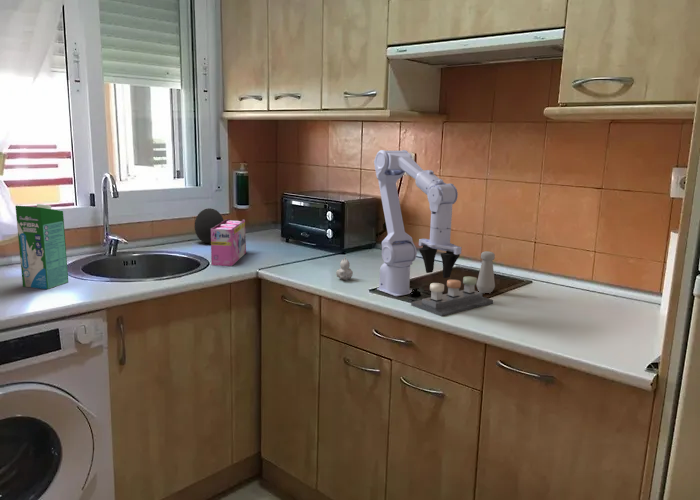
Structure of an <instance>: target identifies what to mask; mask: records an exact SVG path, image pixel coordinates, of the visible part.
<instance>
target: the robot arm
mask: <svg viewBox="0 0 700 500" xmlns="http://www.w3.org/2000/svg"><path fill="white" fill-rule="evenodd" d="M412 156H413V155H412V153H409V152H408V150H405V149H401V150H384V149H380V150H379V151H377V152H376V155H375V157H374V159H373V165H374V170H375V171H374V172H375V176H376V179H377V180H378V181H377V182H378V187H379V193H380V199H381V204H382V209H383V210H382V211H383V214H384V220H385V226H386V232H387V235H386V237H384V239H383V240H381V258H382V260H383V263H382V264H381V265H380V268H379V277H378V278H379V279H378V281H379V282H378V284H379V286H378V287H377V288H376V290H377V291H380V292H383V293H386V294H389V295H391V296H394V297H400V296H405V295H411V294H412V293H411V291H412V290H413V289H411V288H410V281H411V277H410V276H411V266H412V265H413V262H414V261H415V260H416V258H417V254H418V253H417V247H416V245H415V243H414V241H413V237H412V236H411V235H409V234H408V233H407V232H406V231H405V225H404V220H403V215H402V208H401V204H400V197H399V193H398V192H399V191H398V187H397V183H398V181H399V180H401V178H403V176H404V174H405V173H406V175H408V176H410V177H411V178H412V179H414V180H415V181H414V182H415V186H416V187H417V188H418V189H420V190H421V191H422V192H423V193H424V194H425V195H426V197H427V201H428V203H429V211H430V226H429V229H430V231H429V238H419V239H418V246H419V247H420V248H419V249H418V251H419V253H420V255H421V257H422V260H423V263H424V268H425V269H424V270H425V272H426V274H430V273H433V272H434V268H435V267H434V266H435V258H436V254H437V252H438V250H439V251H442V252H443V253H440V257H441V262H442V278H444V279H447V278H450V277H451V275H452V271H453V269H454V265H455V264H456V263H457V260H458V259H459V258H460V256H461V255H462V246H458V245H456V244H453V243H452V242H451V233H452V220H453V219H452V218H453V205H454V204H455V203H456V202H457V200H458V195H459V194H458V189H457V187H456V186H455V185H454V183H446V182H444V180H443V179H442V178H440V177H438V176H437V175H436V174H435V172H434V171H433V170H432V169H425V170H423V168H422V167H421V166H420V165H419V164H418V163H417V162H416V161H415V160H414V159H413V157H412ZM410 293H411V294H410Z"/></svg>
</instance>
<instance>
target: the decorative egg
mask: <svg viewBox="0 0 700 500" xmlns="http://www.w3.org/2000/svg"><path fill="white" fill-rule="evenodd" d="M224 220H225V219H224V218H223V216H222V214H221V213H220V211H218V210H217V209H214V208H205V209H203V210H200V212H199V213H198V214H197V216H196V218H195V220H194V232H195V235H196V237H197V238H198V239H199V241H201V242H203V243H205V244H209V245H211V228H213V227H215V226H217V225H218V224H220V223H221V222H223V221H224Z"/></svg>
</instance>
